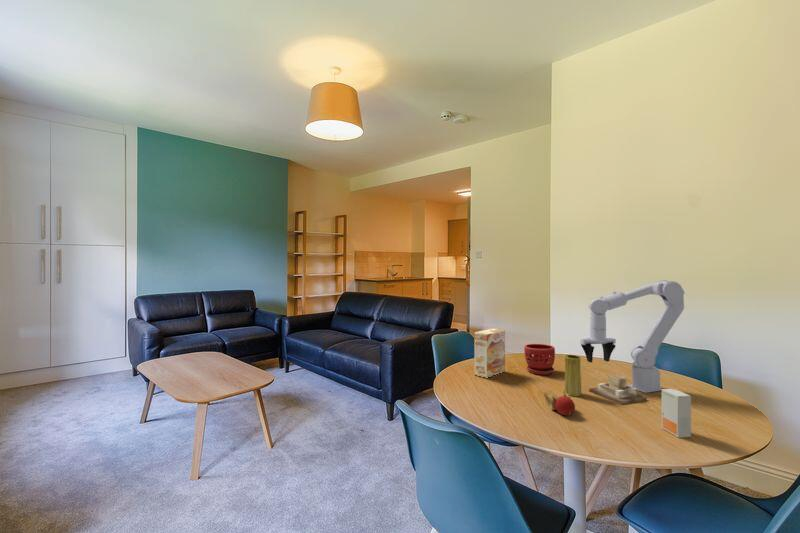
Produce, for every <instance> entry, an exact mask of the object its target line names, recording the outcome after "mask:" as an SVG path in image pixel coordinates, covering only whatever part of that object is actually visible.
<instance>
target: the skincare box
mask: <svg viewBox="0 0 800 533" xmlns="http://www.w3.org/2000/svg"><path fill="white" fill-rule="evenodd" d="M661 389H662V390H661V425H660V426H661V429H663V430H664V431H666V432H668V433H669V434H671V435H673V436H675V437H677V438H679V439H680V438H691V437H692V396H691V395H689V394H688V393H685V392H684V391H680V390H677V389H675V388H661Z"/></svg>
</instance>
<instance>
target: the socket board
mask: <svg viewBox="0 0 800 533" xmlns="http://www.w3.org/2000/svg"><path fill="white" fill-rule="evenodd" d="M637 391H638V390H637V389H636V388H633V387H630V386H627V389H622V390H616V389H614V388H611V387H609V381H608V382H607V381H606V382H601V383H597V387H592V388H588V392H589V393H591V394H592V393H593V394H595V395H598V396H600V397H603V398H605V399H607V400H608V401H609V400H610V401H612V402H614V403H617V404H620V405H627V404H631V403H636V402H638V403H639V402H644V401H647V397H646V396H643V395H641V394H638V392H637Z"/></svg>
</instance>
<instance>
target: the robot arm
mask: <svg viewBox="0 0 800 533" xmlns="http://www.w3.org/2000/svg"><path fill="white" fill-rule="evenodd" d="M648 295H653V296H659V297H661V299H662V301H663V303H664V305H665V307H664V309H663V310H662V312H661V314H660V315H659V317H658V318H657V320H656V322H655V323H654V325H653V326H652V328H651V329H650V331H649V332H648V334H647V336H646V337H645V339H644V340H643V341H641V342H640V343H639V344H638V345H637V346H636V347H634V348H633V349H632V350H631V353H630V356H631V358H632V360H633V362H632V363H631V384H627V386H630V387H633V388H636V389H637V391H638V392H642V393H645V394H646V393H652V392H660V391H662V389H663V388H661V372H660V370H659V369H658V368H657V367H656V366H655V364H656V358H657V356H658V354H659V348H660V346H661V345H662V343H663V342H664V341H665V338H666V337H667V336H668V334H669V332H670V331H671V329H672V328H673V327H674V325H675V323H676V322H677V320H678V319H679V318H680V316H681V314H682V313H683V311H684V310H685V302H684V301H685V299H684V295H685V290H684V288H683V287H682V285H681V284H680V283H679V282H677V281H672V280H666V279H665V280H664V279H662V280H659V281H655V282H651V283H648V284H645V285H643V286H639V287H638V288H634V289H631V290H629V291H626V292H624V293H623V292H621V291H612V292H611V294H608V295H604V296H599V298H595V299H592V300H590V303H589V304H588V307H589V310H590V317H589V331H590V333H589V336H590V337H588V338H580V346H581V348H582V349H583V351H584V353H585V357H586V361H587V362H588V363H593V355H594V350H595V346H593V345H600V344H601V346H602V352H603V354H602V355H603V361H605V362H607V363H608V362H610V359H611V355H612V353H613V351H614V350H615V349H616V340H617V339H616V338H614V337H607V316H606V313H607V312H608V311H611V310H614V309H617V308H618V309H619V308H620V307H623V306H626V305H627V303H628V301H631V300H635V299H638V298H641V297H644V296H648Z"/></svg>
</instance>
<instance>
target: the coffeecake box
mask: <svg viewBox="0 0 800 533" xmlns="http://www.w3.org/2000/svg"><path fill="white" fill-rule="evenodd" d="M473 334H474V339H473V340H474V348H473V349H474V357H473V358H474V360H473V362H474V373H473V374H476V375H480V376H483V377H486V378H488V377H491V376H493V375H496V374H498V375H500V374H499V373H501V372H504V371H505V372H506V329H501V328H488V329H483V330H479V331H475V332H474V333H473ZM505 372H504V373H505ZM501 374H502V373H501ZM496 376H497V375H496ZM493 377H494V376H493ZM491 378H492V377H491ZM488 379H489V378H488Z"/></svg>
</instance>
